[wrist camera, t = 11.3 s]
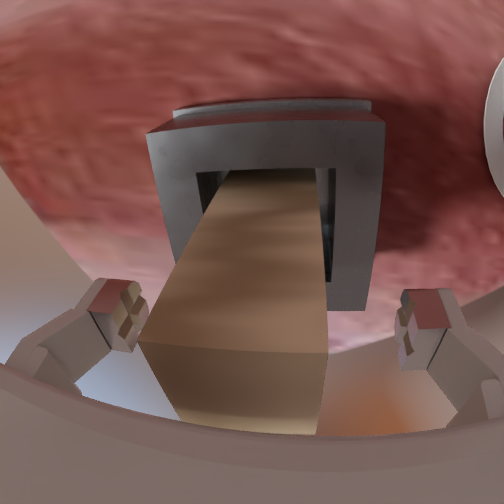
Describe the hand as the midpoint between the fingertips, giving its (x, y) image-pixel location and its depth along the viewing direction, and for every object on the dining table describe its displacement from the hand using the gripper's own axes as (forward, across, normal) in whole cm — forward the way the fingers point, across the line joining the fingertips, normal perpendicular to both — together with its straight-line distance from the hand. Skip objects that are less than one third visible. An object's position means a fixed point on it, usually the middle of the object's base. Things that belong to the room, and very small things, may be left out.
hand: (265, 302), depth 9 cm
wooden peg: (+9, 0, +1) cm, 9 cm away
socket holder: (+10, +1, +1) cm, 10 cm away
